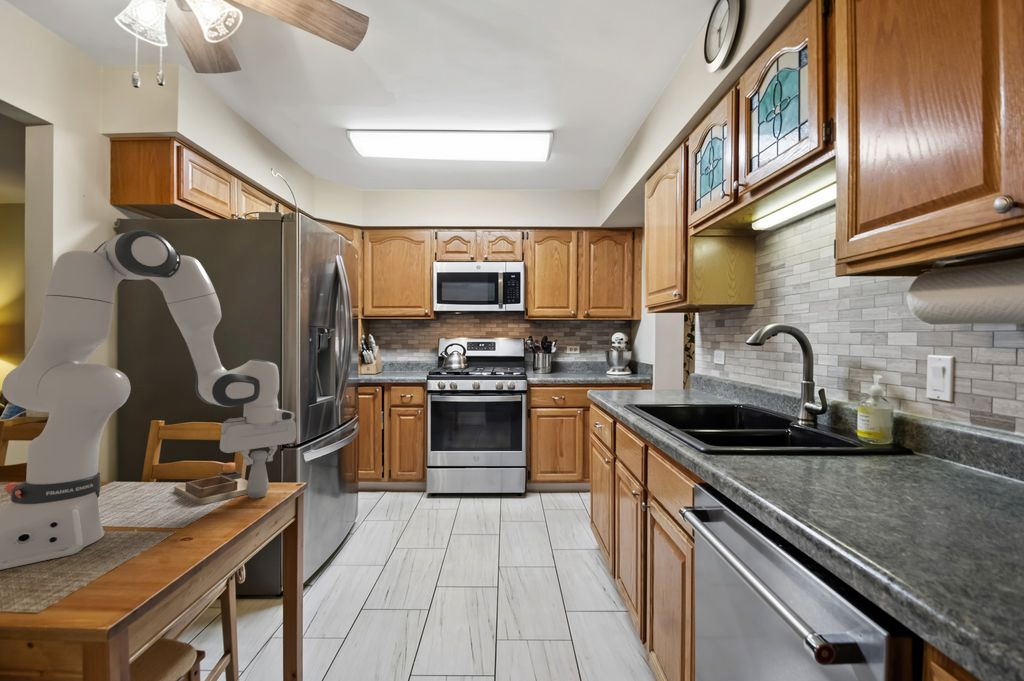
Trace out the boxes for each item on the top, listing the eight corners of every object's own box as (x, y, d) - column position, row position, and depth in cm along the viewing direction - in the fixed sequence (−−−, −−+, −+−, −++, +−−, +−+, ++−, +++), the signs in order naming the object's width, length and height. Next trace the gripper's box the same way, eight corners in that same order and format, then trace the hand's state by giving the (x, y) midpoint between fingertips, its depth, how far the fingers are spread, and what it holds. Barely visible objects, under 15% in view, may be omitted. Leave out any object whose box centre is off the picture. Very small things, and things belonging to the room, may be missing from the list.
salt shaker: (251, 501, 127) (252, 454, 127) (242, 496, 130) (244, 451, 130) (272, 495, 131) (274, 451, 131) (263, 491, 135) (265, 448, 135)
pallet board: (200, 505, 122) (201, 490, 122) (174, 491, 132) (174, 477, 132) (261, 490, 135) (261, 477, 135) (232, 479, 146) (233, 466, 146)
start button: (225, 473, 140) (226, 465, 140) (221, 471, 141) (221, 463, 141) (236, 471, 142) (237, 463, 142) (232, 469, 144) (232, 462, 144)
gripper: (227, 420, 121) (224, 472, 120) (299, 413, 138) (297, 458, 137) (216, 417, 124) (214, 468, 124) (288, 410, 141) (286, 455, 141)
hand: (258, 462), depth 131 cm, fingers closed on salt shaker, 4 cm apart
